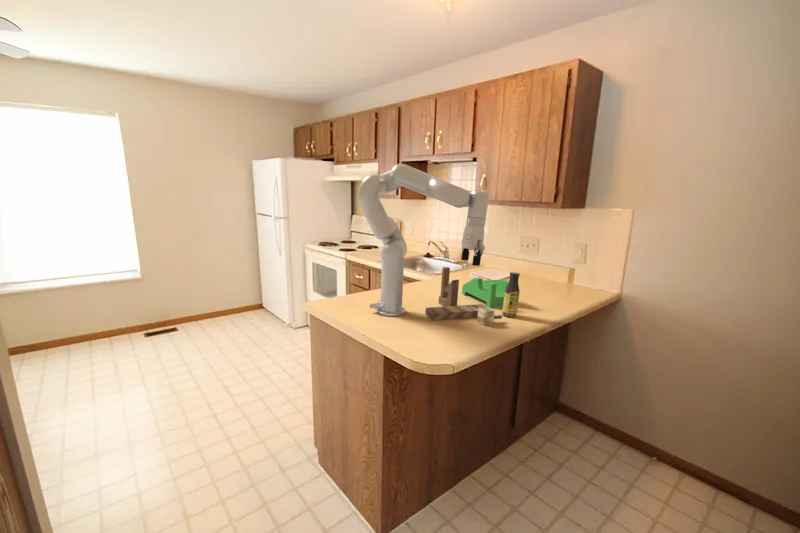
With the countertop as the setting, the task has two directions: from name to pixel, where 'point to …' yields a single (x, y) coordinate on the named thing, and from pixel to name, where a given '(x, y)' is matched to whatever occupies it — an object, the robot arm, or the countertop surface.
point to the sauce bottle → (511, 296)
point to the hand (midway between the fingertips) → (470, 262)
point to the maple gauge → (486, 316)
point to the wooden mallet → (448, 289)
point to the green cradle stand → (486, 291)
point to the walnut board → (453, 312)
